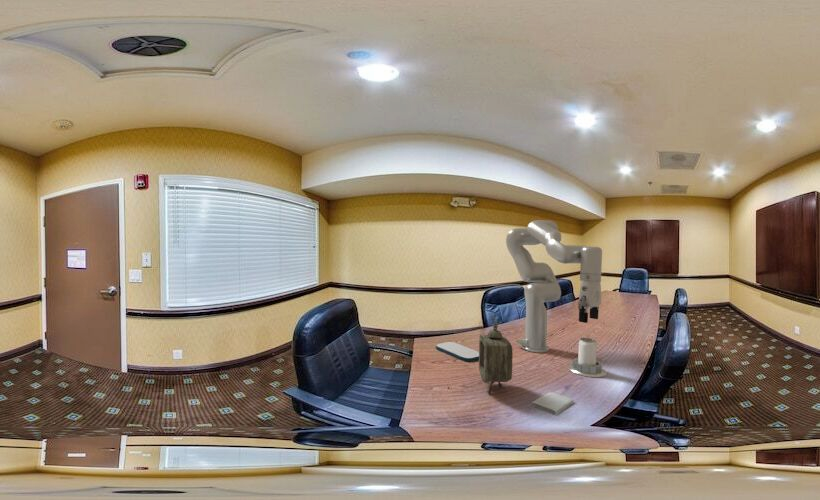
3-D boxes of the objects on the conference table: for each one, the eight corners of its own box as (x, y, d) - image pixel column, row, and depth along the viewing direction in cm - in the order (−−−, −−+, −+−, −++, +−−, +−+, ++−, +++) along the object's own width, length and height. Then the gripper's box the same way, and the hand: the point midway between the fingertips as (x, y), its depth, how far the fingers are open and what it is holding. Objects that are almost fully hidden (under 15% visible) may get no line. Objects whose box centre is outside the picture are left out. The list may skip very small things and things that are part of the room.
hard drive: (555, 411, 112) (573, 399, 120) (530, 401, 118) (549, 390, 126) (555, 416, 112) (573, 404, 120) (530, 407, 118) (549, 395, 126)
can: (595, 368, 150) (596, 338, 150) (596, 373, 144) (597, 343, 144) (577, 365, 153) (578, 336, 152) (577, 370, 147) (578, 340, 146)
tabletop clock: (478, 379, 138) (479, 312, 137) (502, 379, 138) (504, 313, 137) (484, 396, 124) (486, 321, 123) (512, 396, 124) (514, 322, 122)
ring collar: (575, 376, 142) (576, 367, 142) (563, 363, 156) (563, 355, 156) (613, 378, 141) (614, 369, 141) (597, 365, 155) (597, 356, 155)
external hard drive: (486, 359, 162) (486, 354, 162) (467, 364, 156) (467, 359, 155) (451, 345, 182) (451, 341, 181) (432, 348, 175) (432, 344, 175)
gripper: (590, 280, 139) (588, 325, 139) (609, 277, 150) (607, 319, 151) (570, 278, 144) (569, 321, 145) (590, 275, 156) (588, 315, 156)
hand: (588, 320), depth 148 cm, fingers open, 9 cm apart
